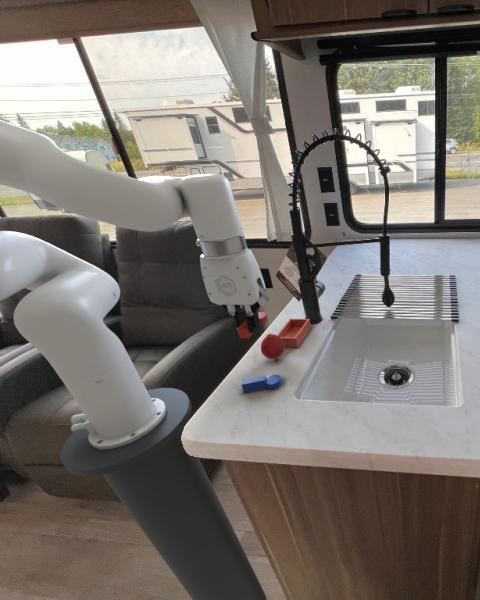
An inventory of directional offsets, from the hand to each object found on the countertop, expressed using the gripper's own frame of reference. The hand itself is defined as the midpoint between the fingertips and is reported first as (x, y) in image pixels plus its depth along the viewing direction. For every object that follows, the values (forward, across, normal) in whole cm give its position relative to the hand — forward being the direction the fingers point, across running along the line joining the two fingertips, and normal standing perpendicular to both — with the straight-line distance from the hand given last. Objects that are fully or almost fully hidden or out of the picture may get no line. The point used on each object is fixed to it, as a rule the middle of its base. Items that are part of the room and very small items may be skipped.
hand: (250, 328), depth 66 cm
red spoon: (+1, 0, +2) cm, 2 cm away
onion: (+16, -3, +10) cm, 18 cm away
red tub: (+15, -2, +20) cm, 25 cm away
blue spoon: (+15, 0, -1) cm, 15 cm away
